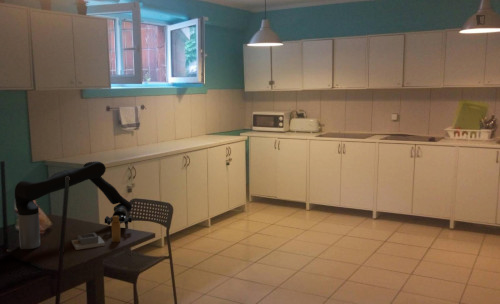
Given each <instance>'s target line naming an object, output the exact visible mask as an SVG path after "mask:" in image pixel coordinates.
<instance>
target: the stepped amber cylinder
mask: <svg viewBox="0 0 500 304" xmlns="http://www.w3.org/2000/svg"><path fill="white" fill-rule="evenodd" d="M112 216H113V215H112ZM112 216H111V217H112ZM112 220H113V222H111V223H110V227H111V242H112V243H118V242H121V241H122V238H121V233H122V232H121V224H120V221H119V216H113V217H112Z"/></svg>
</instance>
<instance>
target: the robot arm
mask: <svg viewBox="0 0 500 304" xmlns="http://www.w3.org/2000/svg"><path fill="white" fill-rule="evenodd" d="M105 173H106V166H105V164H104V163H103V162H101V161H98V160H97V161H89V162H86V163H84V165H83V167H75V168H70V169H66V170H62V171H59V172H56V173H54V174H53V175H51V176H50V177H48V178H47V179H45V180H40V181H29V180H28V181H27V180H26V181H25V180H22V181H19V182H18V183H17V184H16V185H15V188H14V199H15V200H14V201H15V208H16V210H17V216H18V235H19V237H18V238H19V248H20V250H33V249H37V248H39V247H40V246H41V232H40V231H41V230H40V229H41V228H40V211H39V206H37V204H35V202H34V201H36V200H37V199H40V198H43V197H44V196H46V195H49V194H51V193H54V192H55V193H56V192H58V191H61V190H64V189H66V188H65V177H66V176H69V177H70V180H69V187H68V188H70V187H73V186H76V185H78V184H81V183H83V182H85V181H88V180H90V181H91V183H93V184H94V185H95V186H96V187H97V188H98V189H99V190H100V191H101V192H102V194H103V195H104V196H105V197H106V199H107V200H108V202H110V203H111V204H112V205H115V206H114V207H113V214H112V216H111V217H109V216H108V215H107V216H105V218H104V224H107V225H108V226H111V222H113V220H112V217H113V216H119V221H120V225H121V224H124V225H127V224H129V223H132V221H133V219H132V218H133V216H132V215H129V216H128V213H129V212H130V211H132V208H133V206H132V204H131V202H130V201H129V200H127V199H126V198H125V197H123V196H122V195H121V194H120V192H119V191H118V190H117V189H116V187H115V186H113V185H112V184H111V183H109V182H108V181H107V180H105V179H104V177H103V176H104V174H105Z"/></svg>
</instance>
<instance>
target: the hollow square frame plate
mask: <svg viewBox="0 0 500 304" xmlns="http://www.w3.org/2000/svg"><path fill="white" fill-rule="evenodd" d="M71 244H72V246H73V247H74V249H75V250H76V251H77V250H78V251H79V250H84V249H91V248H97V247H104V246H106V242H105V241H104V240H103V238H102V237H101V236H99V235H98V234H97V233H96V232H89V233H79V234H77V239H71Z"/></svg>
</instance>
